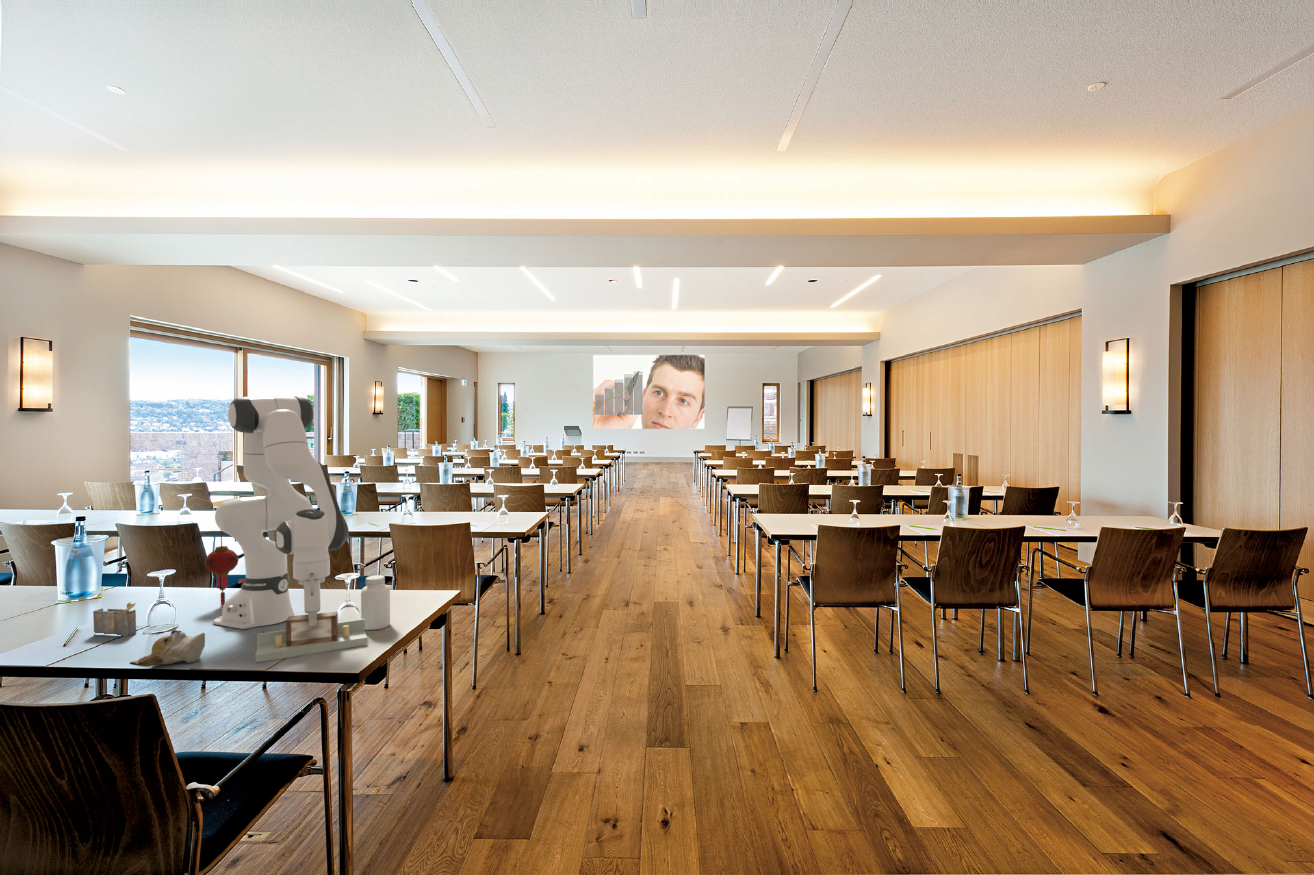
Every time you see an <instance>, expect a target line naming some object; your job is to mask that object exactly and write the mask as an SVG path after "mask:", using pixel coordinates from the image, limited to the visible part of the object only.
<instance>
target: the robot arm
mask: <svg viewBox="0 0 1314 875" xmlns="http://www.w3.org/2000/svg"><path fill="white" fill-rule="evenodd" d="M227 417H228V421H229V424H230V427H231V428H233V429H234V430H235V431H236V432H238V433H244V436H243V446H242V448H243V449H242V450H243V454H242V455H243V456H242V462H243V464H242V466H243V476H244V478H245V480H247V481H248V482H249V483H250V484H254V485H255V486H259V487H261V488H264V489H265V490H267V493H268V494H267V495H261V496H260V495H259V496H246V497H245V496H244V497H237V498H236V497H235V498H231V499H229V500H224V501H222V502H221V503H220V504H219V506H218V507H217V509H216V510H215V512H214V513H215V514H214V521H215V524H216V526H217V527H218V529H219V530H220V531H221V530H222V532H224V534H227V535H228V536H231V537H232V538H233V539H234V540H235V541H236V542H237V543H238V545H239V546H240V548H241V550H242V552H243V557H244V564H245V576H244V578H240V579H238V580H237V581H238V584H241V586H240V589H239V590H238V591H236V593H234V594H233V595H231V596H230V597H229V598H228V599H227V600H225V603H224V605H223V606H222V608H221V609H222V610H221V615H220V616H218V617H216V618H215V619H213V620H212V624H213V625H217V626H218V625H219V626H225V627H229V628H235V629H240V630H241V629H242V630H246V629H252V628H257V627H263V626H270V625H275V624H280V623H282V622H286V620H287V618H288V617H289V616H295V614H294V610H293V606H292V603H291V595H290V591H289V584H290V573H289V572H288V555H293V559H292V577H293V578H292V579H294V580H296V581H298V585H299V586H302V587H303V595H304V596H303V597H304V598H303V600H304V604H303V605H304V606H303V607H304V613H305V614H307V615H308V618H309V626H315V625H316V624H317V614H318V613H320V611H321V584H323V583H324V582H325V581H326V577H329V576H330V574H331V561H330V560H331V558H330V557H331V556H330V553H329V551H332V550H333V551H335V550H338V549H340V548H341V547H342V546H343V545H344V544H345V543H346V542H347V540H348V539H349V535H350V534H349V533H350V531H349V526H348V523H347V521H346V519H345V518H344V514H343V513H342V511H341V508H340V506H339V502H338V499H337V497H336V494H335V492H334V488H333V485H332V482H331V480H330V477H329V475H328V474H329V473H328V472H327V470H326V468H325V466H324V465H323V463H321V462H318V461H317V460H316V458H314V456H313V455H312V453H311V451H310V449H309V443H308V439H307V433H306V430H307V429H308V428H310V426H311V425H312V424H313V420H314V408H313V405H312V403H311V401H310V400H309V399H307V398H305V397H301V396H288V395H287V396H286V395H285V396H284V395H269V396H267V395H265V396H263V395H262V396H253V397H248V396H243V397H237V398H234V399H233V400H232V401H231V402H230V405H229V407H228V410H227ZM290 481H295V482H297V483H301V484H304V485H305V486H307V487H309V488H310V489H312V491H313V493H314V494H315V498H316V501H317V504H318V506H319V509H314V508H313V506H312V503H311V501H310V499H309V498H307V497H306V496H305V495H303V494H301V492H299V491H297V489H295V488H294V486H293V485H292V484H291V482H290ZM269 531H275V532H274V537H275V538H274V541H273V540H271V539H267V538H266V537H264V532H269Z"/></svg>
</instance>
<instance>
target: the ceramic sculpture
mask: <svg viewBox="0 0 1314 875" xmlns="http://www.w3.org/2000/svg"><path fill="white" fill-rule="evenodd" d="M205 646H206V634H205V632H201V633H200V634H196V635H193V636H189V635H187V634H186V633H185V632H184V631H182V630H177V629H175V630H173V629H172V631H171V633H170V634H166V635H163V636H162V637H160V638H158V639H156V640H155V642H154V643H153V645H152V647H151V653H150V654H149V655H146V656H143V657H141V658H139V659H138V660H134V661H130V662H129V665H132V666H137V667H149V668H150V667H154V666H157V665H160V664H161V665H172V664H175V663H178V662H181V661H186V662H187V663H189V664H190V663H195V662H196V661H198V660H199V659H200V658H201V655H202V654H203V650H204V648H205Z"/></svg>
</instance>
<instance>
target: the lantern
mask: <svg viewBox="0 0 1314 875" xmlns="http://www.w3.org/2000/svg"><path fill="white" fill-rule="evenodd" d="M222 532H223V531H222V530H221V529H220V546H216V547H215V549H214V550H213V551H212V552H210V553H208V555H207V556H206V558H205V560H204V565H205V567H206V569H207V570H208V571H209V572H210V573H213V574H215V576H216V589H218V590H220V606H221V605H224V603H225V602H226V593H225V592H224V590H225V589H226V588H229V577H228V576H229V573H230V572H231V571H233V570H234V569H235V568H236V566H238V564H239V556H238V554H237V553H236V552H235V551H234V550H232V549H230V548H229V547H228V546H226V545H223V541H222V540H223V538H222V537H223V536H222Z"/></svg>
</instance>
